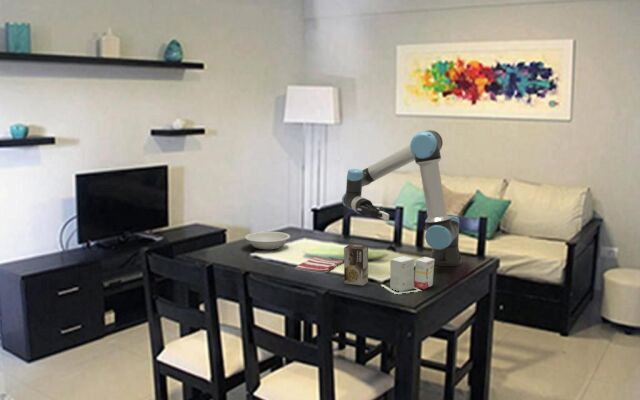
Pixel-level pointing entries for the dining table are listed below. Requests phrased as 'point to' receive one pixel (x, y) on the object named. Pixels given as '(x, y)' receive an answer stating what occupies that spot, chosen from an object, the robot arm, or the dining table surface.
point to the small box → (402, 273)
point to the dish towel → (318, 265)
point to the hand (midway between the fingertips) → (387, 217)
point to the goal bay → (400, 292)
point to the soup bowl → (267, 239)
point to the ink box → (424, 272)
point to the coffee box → (356, 264)
